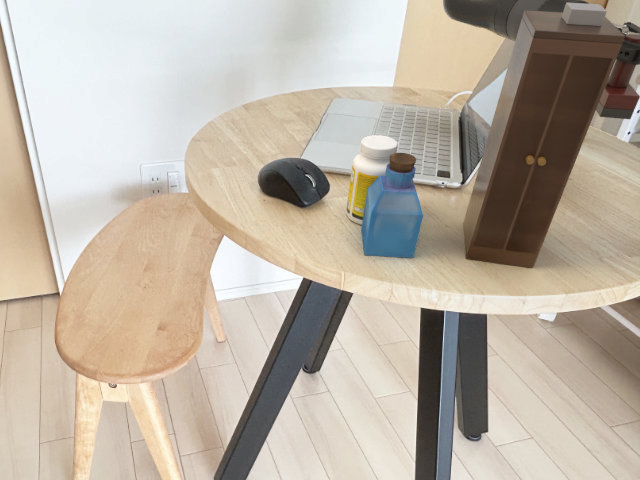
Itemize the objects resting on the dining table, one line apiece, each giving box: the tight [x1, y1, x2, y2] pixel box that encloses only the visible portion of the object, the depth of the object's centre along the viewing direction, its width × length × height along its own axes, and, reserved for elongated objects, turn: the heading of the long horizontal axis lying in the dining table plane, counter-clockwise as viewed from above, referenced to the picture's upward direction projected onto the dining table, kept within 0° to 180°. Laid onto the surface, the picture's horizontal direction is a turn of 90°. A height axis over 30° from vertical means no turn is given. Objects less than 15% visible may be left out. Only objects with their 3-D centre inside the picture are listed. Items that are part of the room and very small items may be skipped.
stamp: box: [595, 34, 640, 120], centre depth 74 cm, size 8×4×9 cm, turn 165°
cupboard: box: [462, 10, 625, 269], centre depth 66 cm, size 10×8×27 cm
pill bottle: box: [345, 134, 399, 226], centre depth 77 cm, size 6×6×11 cm
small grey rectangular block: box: [562, 3, 608, 26], centre depth 58 cm, size 3×3×1 cm
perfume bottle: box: [360, 152, 424, 259], centre depth 71 cm, size 6×6×12 cm
